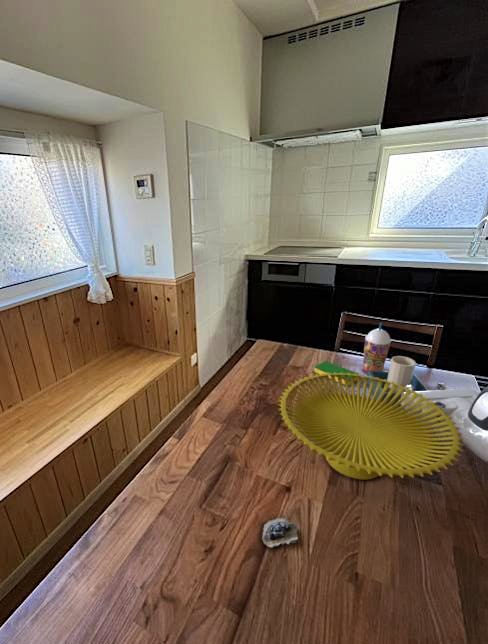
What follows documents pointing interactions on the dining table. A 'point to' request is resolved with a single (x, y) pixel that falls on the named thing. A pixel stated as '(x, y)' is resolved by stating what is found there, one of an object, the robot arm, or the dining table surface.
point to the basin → (383, 375)
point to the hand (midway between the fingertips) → (423, 386)
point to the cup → (401, 372)
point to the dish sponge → (332, 368)
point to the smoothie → (376, 349)
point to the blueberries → (279, 532)
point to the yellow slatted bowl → (368, 428)
